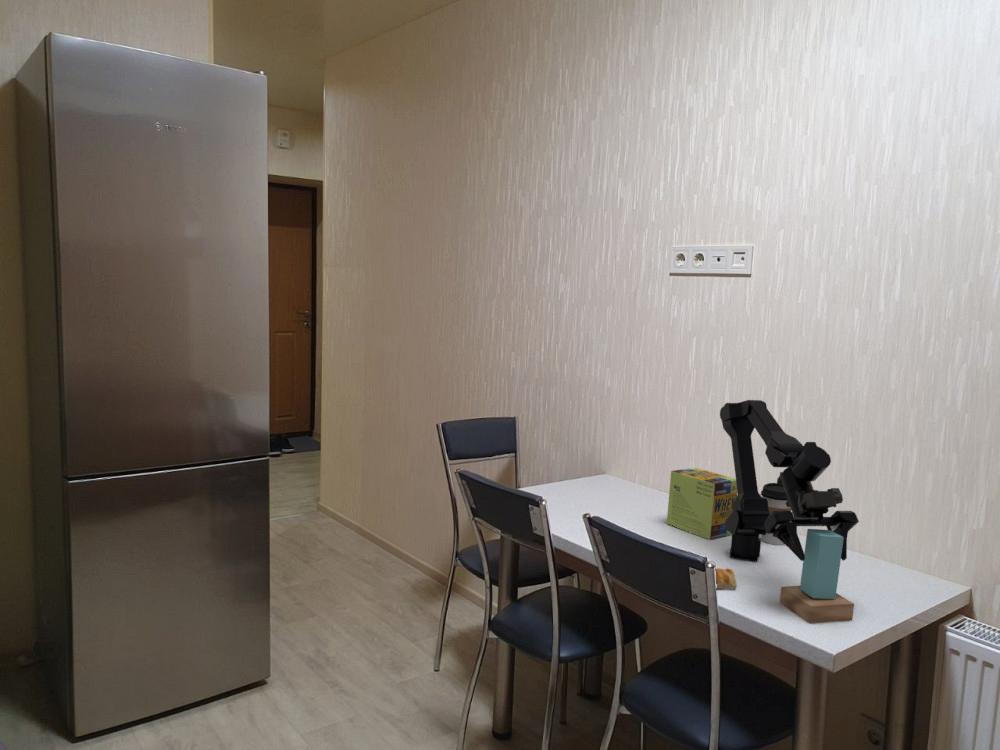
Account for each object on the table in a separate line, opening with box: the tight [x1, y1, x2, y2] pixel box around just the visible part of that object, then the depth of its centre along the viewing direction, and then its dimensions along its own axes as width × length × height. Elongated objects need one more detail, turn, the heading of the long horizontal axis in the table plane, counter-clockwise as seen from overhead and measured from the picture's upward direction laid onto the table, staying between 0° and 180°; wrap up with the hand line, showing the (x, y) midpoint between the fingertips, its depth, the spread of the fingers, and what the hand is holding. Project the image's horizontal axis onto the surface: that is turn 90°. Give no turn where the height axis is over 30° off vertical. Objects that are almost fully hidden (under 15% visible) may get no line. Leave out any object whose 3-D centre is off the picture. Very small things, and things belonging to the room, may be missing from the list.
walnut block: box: [779, 585, 855, 624], centre depth 157 cm, size 10×10×4 cm
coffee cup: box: [760, 482, 792, 546], centre depth 201 cm, size 8×8×15 cm
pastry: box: [714, 567, 738, 590], centre depth 169 cm, size 9×7×4 cm
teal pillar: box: [799, 528, 844, 599], centre depth 156 cm, size 5×5×13 cm
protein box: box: [666, 467, 738, 541], centre depth 208 cm, size 10×15×16 cm
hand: (824, 559), depth 155 cm, fingers open, 9 cm apart
